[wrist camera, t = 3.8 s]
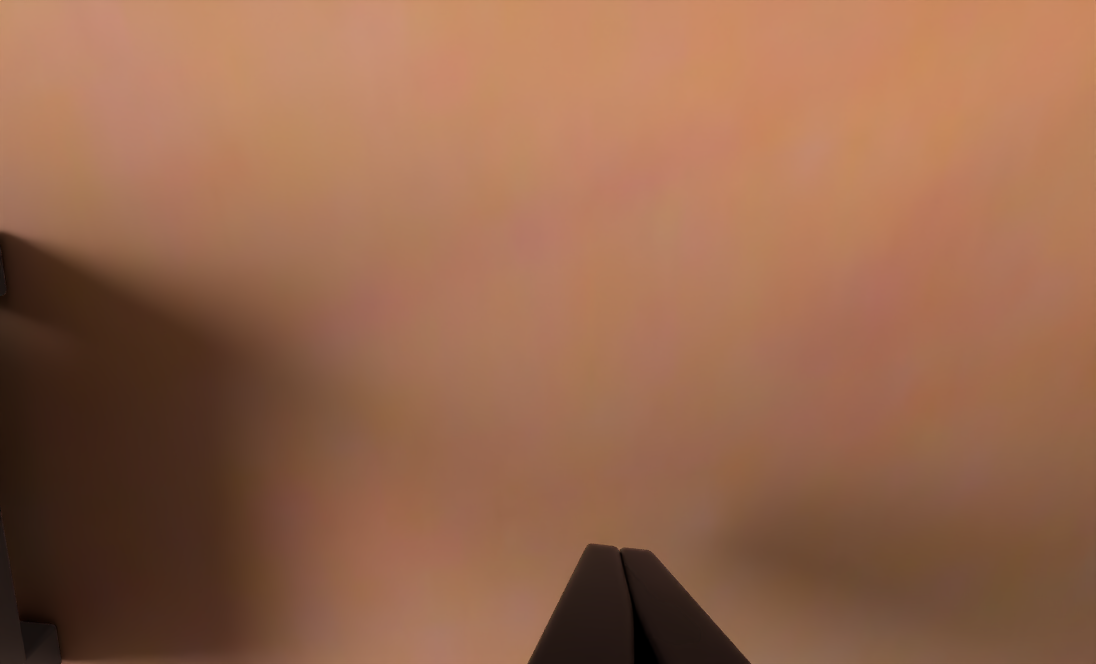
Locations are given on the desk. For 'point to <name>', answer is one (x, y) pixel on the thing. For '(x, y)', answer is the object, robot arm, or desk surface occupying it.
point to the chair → (3, 640)
